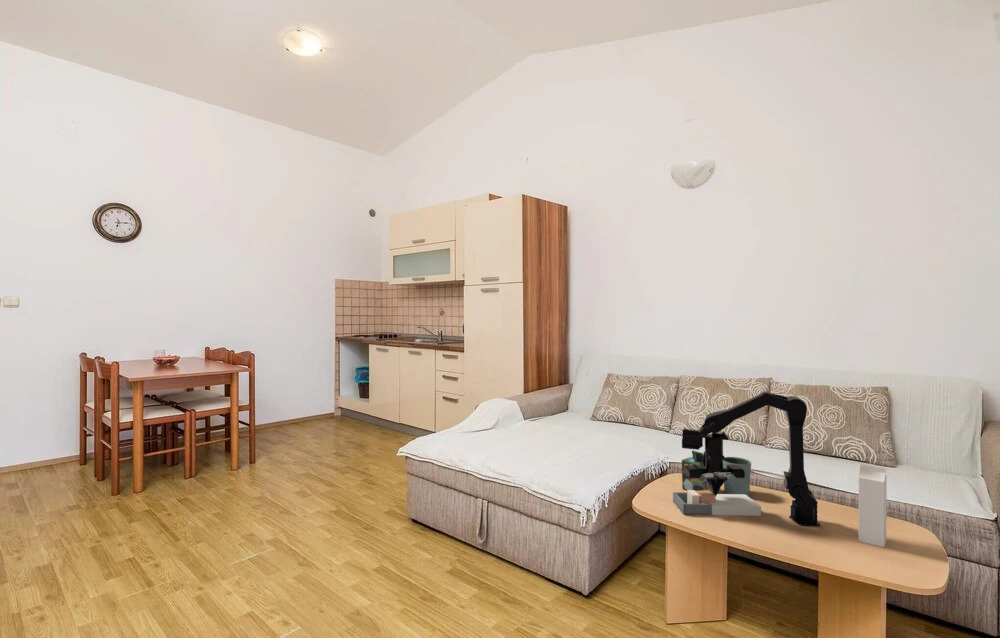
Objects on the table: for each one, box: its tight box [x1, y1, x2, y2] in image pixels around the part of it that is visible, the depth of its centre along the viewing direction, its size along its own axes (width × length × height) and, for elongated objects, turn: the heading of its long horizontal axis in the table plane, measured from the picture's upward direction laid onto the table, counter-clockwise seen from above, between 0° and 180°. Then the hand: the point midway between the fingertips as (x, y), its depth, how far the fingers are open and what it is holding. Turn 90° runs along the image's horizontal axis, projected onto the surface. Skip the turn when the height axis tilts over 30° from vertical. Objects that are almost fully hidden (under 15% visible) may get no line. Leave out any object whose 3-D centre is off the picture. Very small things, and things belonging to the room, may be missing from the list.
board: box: [702, 493, 762, 517], centre depth 167 cm, size 16×11×3 cm
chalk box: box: [681, 450, 711, 492], centre depth 185 cm, size 9×9×15 cm
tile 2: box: [696, 490, 716, 503], centre depth 167 cm, size 5×5×2 cm
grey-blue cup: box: [723, 456, 752, 497], centre depth 182 cm, size 10×10×12 cm
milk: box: [858, 464, 888, 548], centre depth 143 cm, size 6×6×22 cm
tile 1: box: [686, 490, 699, 504], centre depth 167 cm, size 5×5×2 cm
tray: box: [672, 491, 713, 516], centre depth 167 cm, size 9×11×4 cm
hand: (714, 496), depth 167 cm, fingers closed
